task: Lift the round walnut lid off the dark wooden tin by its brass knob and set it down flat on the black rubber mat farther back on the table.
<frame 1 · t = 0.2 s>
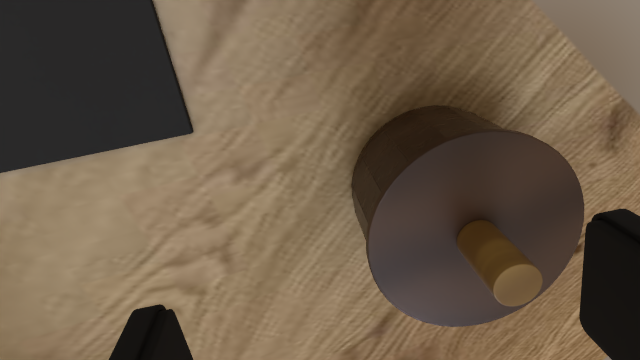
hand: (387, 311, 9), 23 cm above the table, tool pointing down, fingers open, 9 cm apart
tin: (428, 182, 34), on the table
tin lid: (472, 233, 26), point 8 cm above the table, touching tin
mat: (31, 25, 27), on the table
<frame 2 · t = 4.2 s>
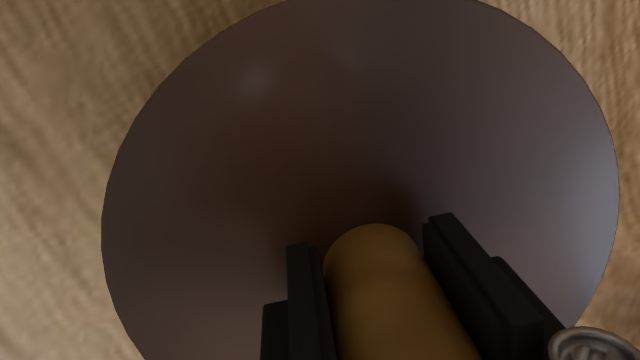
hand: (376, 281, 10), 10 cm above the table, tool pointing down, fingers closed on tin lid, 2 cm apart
tin lid: (366, 254, 12), point 9 cm above the table, touching gripper, tin
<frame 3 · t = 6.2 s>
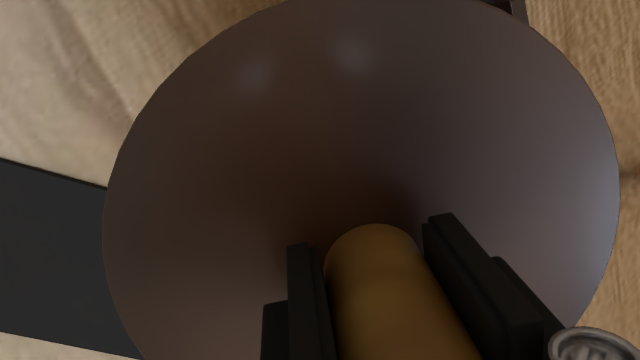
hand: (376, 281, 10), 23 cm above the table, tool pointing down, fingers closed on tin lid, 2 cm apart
tin: (383, 50, 31), on the table
tin lid: (367, 254, 12), point 22 cm above the table, touching gripper
mat: (83, 269, 35), on the table
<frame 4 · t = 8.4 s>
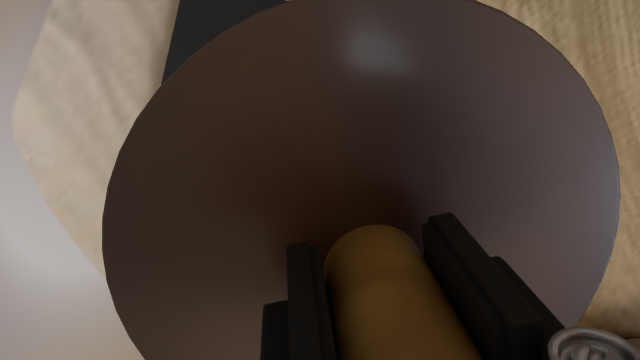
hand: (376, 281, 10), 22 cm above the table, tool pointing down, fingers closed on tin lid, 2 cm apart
tin lid: (367, 255, 12), point 21 cm above the table, touching gripper
mat: (284, 122, 32), on the table
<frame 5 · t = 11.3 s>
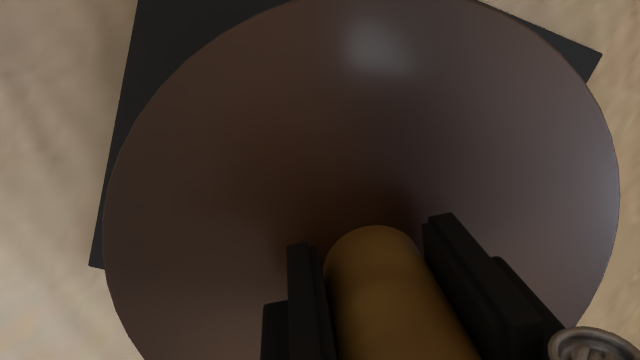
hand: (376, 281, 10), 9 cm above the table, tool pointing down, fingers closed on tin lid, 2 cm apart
tin lid: (367, 255, 12), point 8 cm above the table, touching gripper
mat: (333, 160, 19), on the table
when the fingers open (2 cm above the table, at t = 13.0 s): tin lid stays where it is, resting on mat.
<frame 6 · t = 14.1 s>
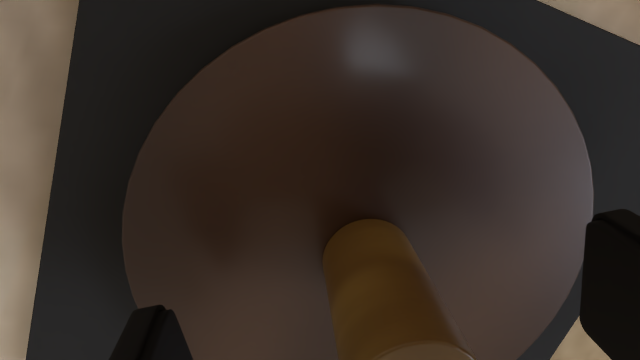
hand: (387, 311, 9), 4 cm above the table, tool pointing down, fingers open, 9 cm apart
tin lid: (363, 247, 13), point 1 cm above the table, touching mat
mat: (356, 228, 14), on the table
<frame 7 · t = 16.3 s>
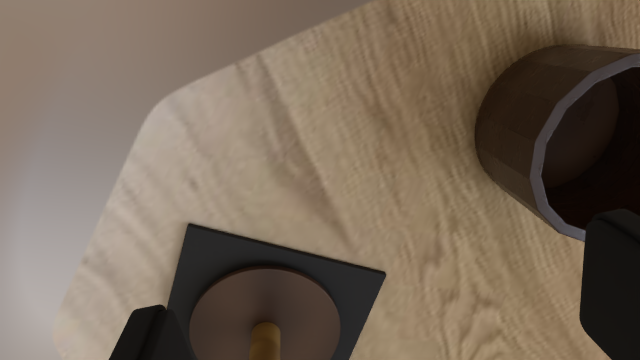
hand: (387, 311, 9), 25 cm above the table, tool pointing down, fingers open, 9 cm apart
tin: (548, 124, 35), on the table
tin lid: (266, 329, 38), point 1 cm above the table, touching mat
mat: (266, 320, 39), on the table
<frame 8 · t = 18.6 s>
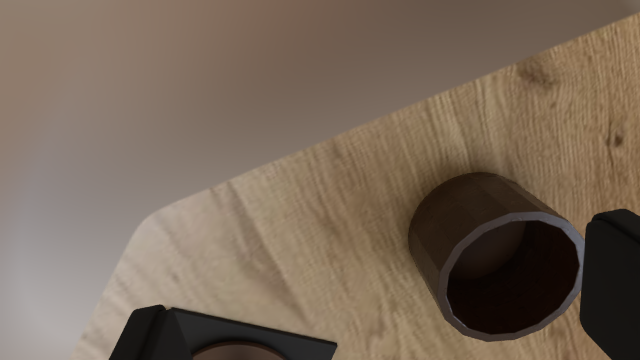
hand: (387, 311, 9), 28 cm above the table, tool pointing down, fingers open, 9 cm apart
tin: (469, 230, 42), on the table
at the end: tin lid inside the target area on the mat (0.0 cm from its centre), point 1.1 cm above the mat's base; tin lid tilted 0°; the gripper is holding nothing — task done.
